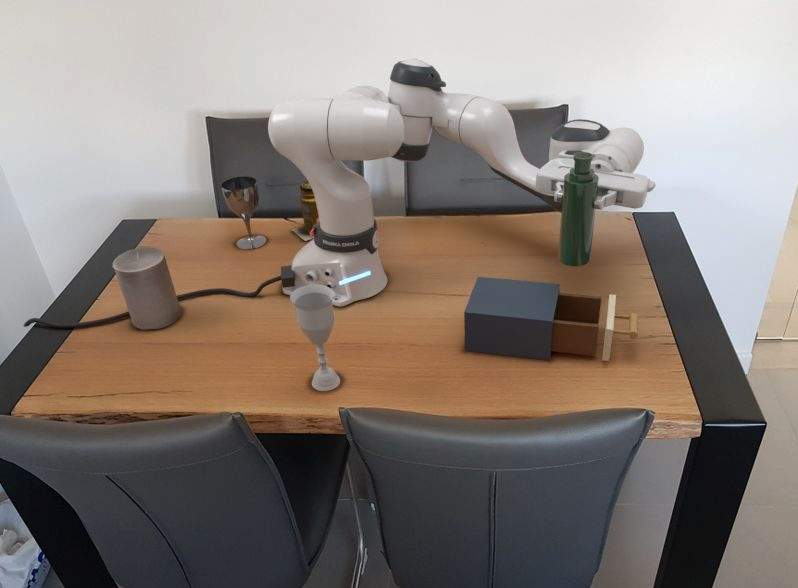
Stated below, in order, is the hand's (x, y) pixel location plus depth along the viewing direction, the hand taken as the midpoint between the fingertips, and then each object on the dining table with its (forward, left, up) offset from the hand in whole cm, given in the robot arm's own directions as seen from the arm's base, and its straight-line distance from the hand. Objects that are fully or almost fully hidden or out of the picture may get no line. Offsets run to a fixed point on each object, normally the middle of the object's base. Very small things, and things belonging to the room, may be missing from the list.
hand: (577, 201), depth 125 cm
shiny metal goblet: (-76, +18, -24) cm, 82 cm away
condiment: (-63, +26, -24) cm, 73 cm away
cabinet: (-9, -9, -24) cm, 27 cm away
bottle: (0, +1, -12) cm, 12 cm away
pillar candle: (-81, -16, -24) cm, 86 cm away
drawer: (+3, -9, -23) cm, 25 cm away
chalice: (-39, -29, -24) cm, 55 cm away
